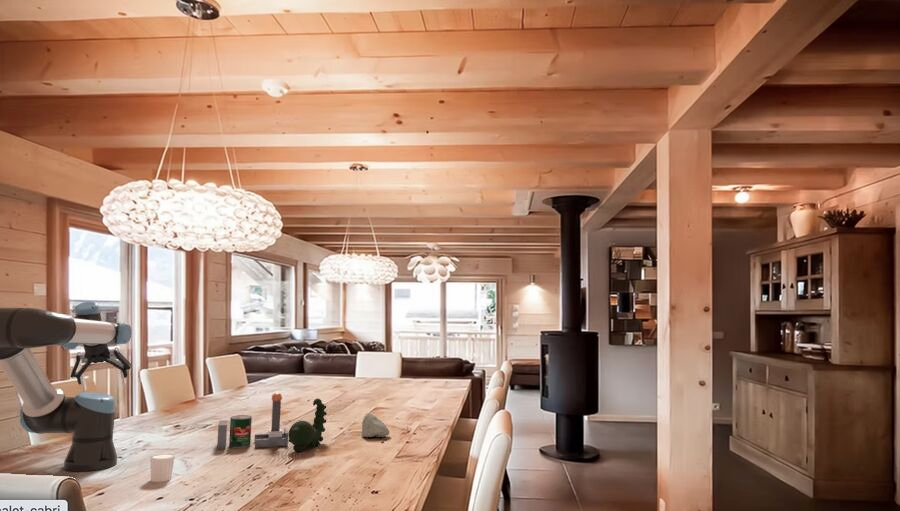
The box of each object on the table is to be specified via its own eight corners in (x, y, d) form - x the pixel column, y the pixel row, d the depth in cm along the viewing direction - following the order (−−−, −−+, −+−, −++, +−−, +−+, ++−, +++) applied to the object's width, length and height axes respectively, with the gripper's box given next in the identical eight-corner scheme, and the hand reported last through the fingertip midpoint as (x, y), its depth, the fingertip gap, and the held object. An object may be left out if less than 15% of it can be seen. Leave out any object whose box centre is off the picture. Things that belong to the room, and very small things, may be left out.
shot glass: (167, 475, 184) (168, 452, 185) (177, 479, 179) (178, 456, 180) (144, 479, 179) (146, 456, 179) (154, 484, 174) (156, 460, 175)
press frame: (287, 446, 226) (288, 422, 226) (216, 450, 217) (218, 425, 218) (285, 440, 236) (286, 417, 237) (218, 443, 227) (219, 420, 228)
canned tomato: (241, 442, 230) (242, 414, 231) (254, 445, 226) (256, 416, 227) (224, 446, 224) (226, 417, 225) (238, 449, 220) (239, 419, 221)
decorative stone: (351, 436, 244) (359, 419, 240) (363, 423, 254) (371, 406, 250) (376, 454, 242) (385, 437, 238) (388, 439, 252) (396, 423, 248)
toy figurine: (308, 445, 235) (278, 453, 212) (312, 397, 239) (283, 400, 215) (330, 446, 233) (301, 455, 209) (334, 398, 237) (306, 401, 213)
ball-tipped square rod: (281, 444, 227) (284, 393, 229) (268, 445, 225) (270, 394, 227) (280, 440, 233) (283, 391, 235) (267, 441, 232) (270, 391, 234)
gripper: (132, 331, 225) (141, 376, 234) (58, 340, 217) (70, 386, 225) (130, 341, 219) (139, 387, 227) (53, 351, 210) (66, 398, 219)
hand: (105, 387), depth 226 cm, fingers open, 13 cm apart
